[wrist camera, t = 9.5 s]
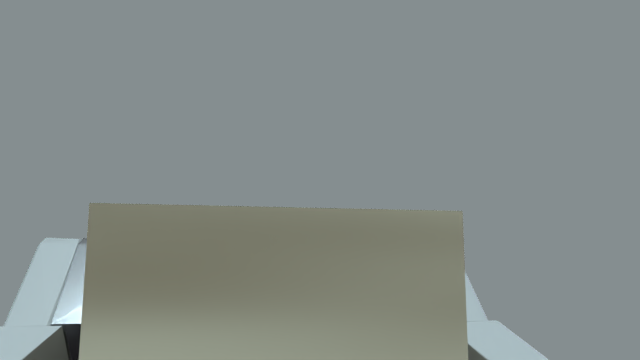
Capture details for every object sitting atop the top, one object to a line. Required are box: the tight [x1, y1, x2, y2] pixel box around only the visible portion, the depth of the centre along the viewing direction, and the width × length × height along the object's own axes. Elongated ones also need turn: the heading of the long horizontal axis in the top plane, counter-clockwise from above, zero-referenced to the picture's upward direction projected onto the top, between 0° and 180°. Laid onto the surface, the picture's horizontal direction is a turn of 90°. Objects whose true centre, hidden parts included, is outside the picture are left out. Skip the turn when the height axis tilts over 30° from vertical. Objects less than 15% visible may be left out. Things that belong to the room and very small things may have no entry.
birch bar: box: [79, 203, 468, 360], centre depth 15 cm, size 22×3×3 cm, turn 9°
